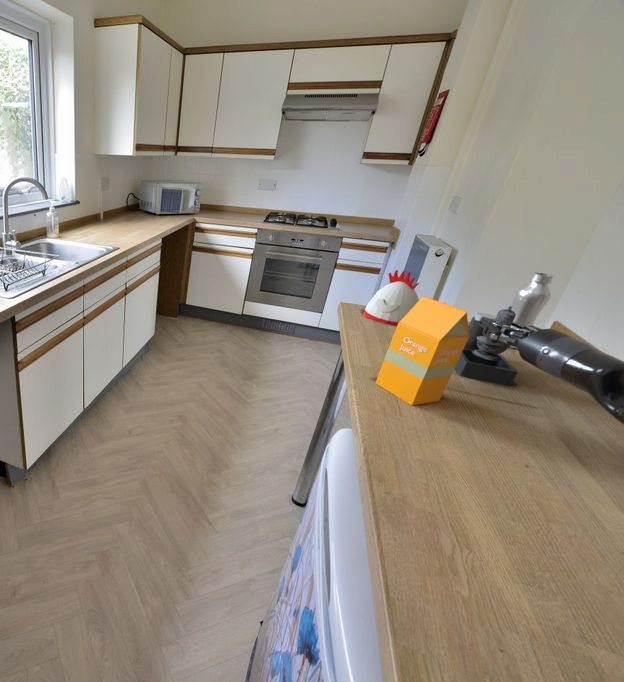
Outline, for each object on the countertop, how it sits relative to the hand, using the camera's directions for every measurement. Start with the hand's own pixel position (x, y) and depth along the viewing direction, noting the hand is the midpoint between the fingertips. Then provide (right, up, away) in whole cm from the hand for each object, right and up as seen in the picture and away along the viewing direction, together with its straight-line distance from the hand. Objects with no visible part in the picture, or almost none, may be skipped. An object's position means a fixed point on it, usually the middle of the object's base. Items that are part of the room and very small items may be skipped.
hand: (491, 321), depth 92 cm
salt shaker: (-1, -8, +1) cm, 8 cm away
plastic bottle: (+21, -6, +18) cm, 29 cm away
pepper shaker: (+3, -8, +9) cm, 13 cm away
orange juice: (-24, -15, -6) cm, 29 cm away
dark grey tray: (+1, -10, +6) cm, 12 cm away
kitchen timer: (-1, +2, +33) cm, 33 cm away
